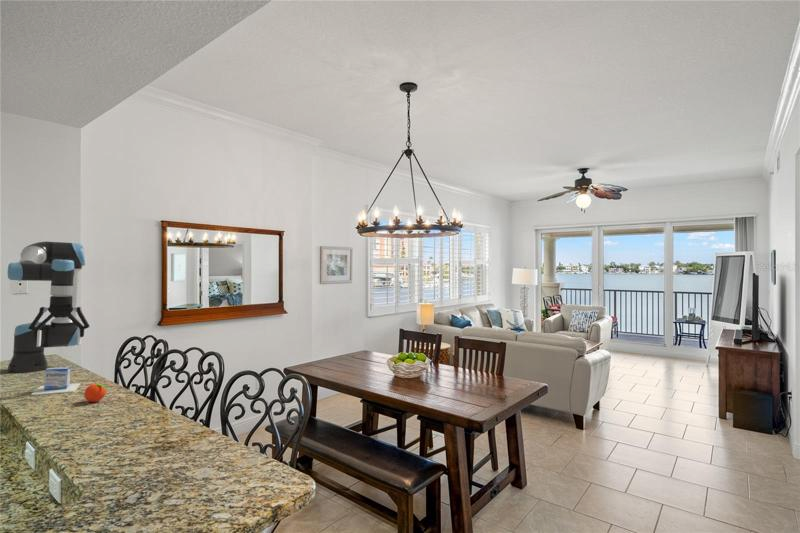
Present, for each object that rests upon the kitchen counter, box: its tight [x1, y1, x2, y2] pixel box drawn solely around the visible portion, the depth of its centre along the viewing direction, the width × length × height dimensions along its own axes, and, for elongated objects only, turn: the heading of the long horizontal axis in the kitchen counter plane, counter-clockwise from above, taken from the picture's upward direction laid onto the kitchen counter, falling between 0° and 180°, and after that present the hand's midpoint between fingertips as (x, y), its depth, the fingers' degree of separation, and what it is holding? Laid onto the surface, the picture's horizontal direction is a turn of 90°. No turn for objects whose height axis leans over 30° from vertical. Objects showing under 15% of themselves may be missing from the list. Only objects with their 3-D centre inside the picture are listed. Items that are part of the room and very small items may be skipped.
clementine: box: [83, 383, 107, 403], centre depth 167 cm, size 8×7×7 cm
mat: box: [30, 382, 81, 397], centre depth 181 cm, size 14×14×1 cm
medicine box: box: [43, 366, 72, 390], centre depth 181 cm, size 8×4×9 cm, turn 115°
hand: (59, 345), depth 181 cm, fingers open, 13 cm apart
